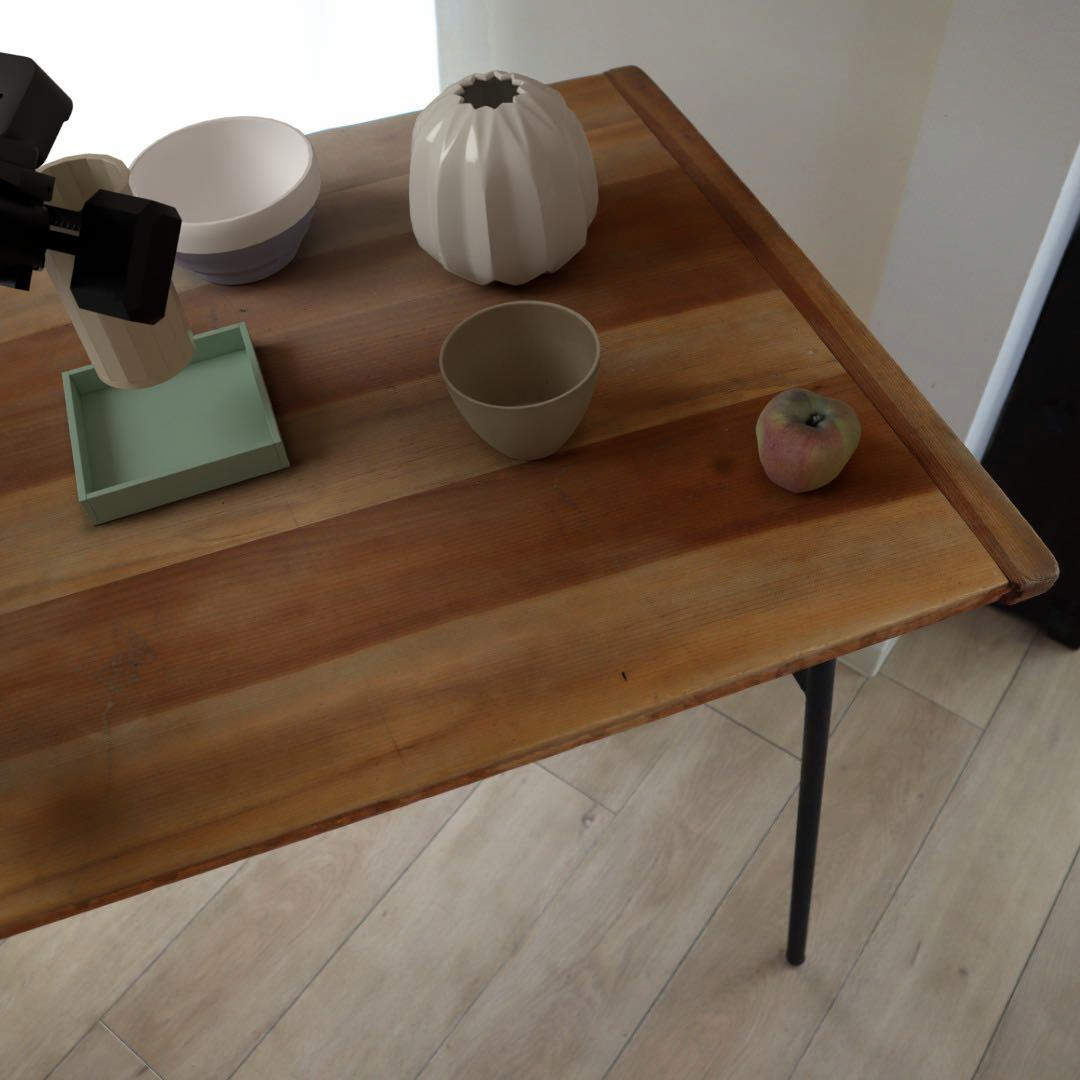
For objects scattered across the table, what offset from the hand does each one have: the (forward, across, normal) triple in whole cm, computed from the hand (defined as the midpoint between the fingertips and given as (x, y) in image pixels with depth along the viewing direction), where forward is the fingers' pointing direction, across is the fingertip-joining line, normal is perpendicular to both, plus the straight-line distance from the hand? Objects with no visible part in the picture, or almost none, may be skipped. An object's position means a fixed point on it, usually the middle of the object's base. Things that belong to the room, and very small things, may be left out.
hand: (122, 258), depth 71 cm
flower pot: (+14, -23, +5) cm, 27 cm away
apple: (+16, -40, +4) cm, 43 cm away
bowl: (+22, +6, -3) cm, 23 cm away
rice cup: (+4, 0, +6) cm, 7 cm away
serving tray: (+9, 0, +10) cm, 13 cm away
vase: (+26, -14, -7) cm, 30 cm away
